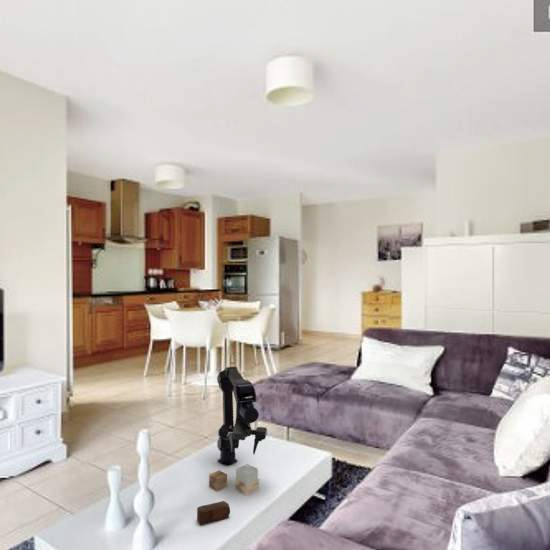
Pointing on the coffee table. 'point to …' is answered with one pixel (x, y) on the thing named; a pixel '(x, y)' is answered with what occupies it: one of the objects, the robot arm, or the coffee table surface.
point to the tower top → (246, 473)
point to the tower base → (246, 486)
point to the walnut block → (218, 480)
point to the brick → (213, 512)
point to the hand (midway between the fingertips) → (242, 453)
